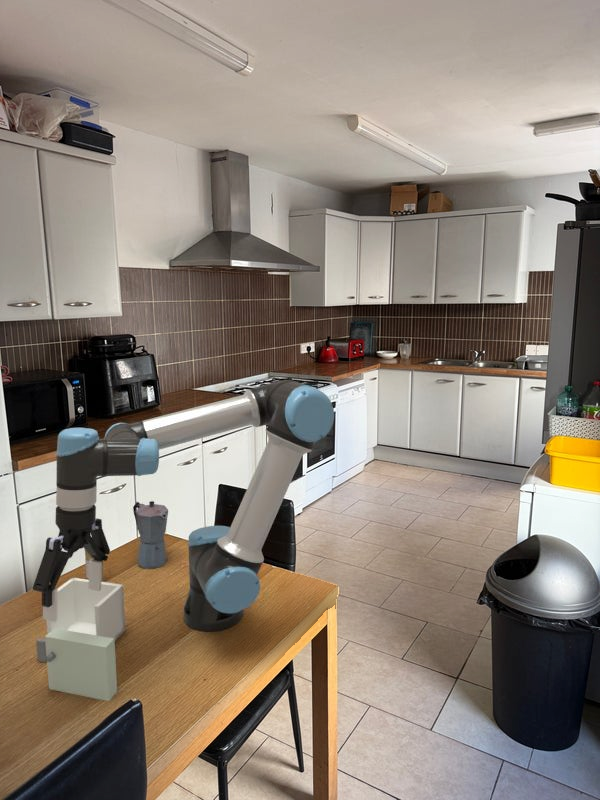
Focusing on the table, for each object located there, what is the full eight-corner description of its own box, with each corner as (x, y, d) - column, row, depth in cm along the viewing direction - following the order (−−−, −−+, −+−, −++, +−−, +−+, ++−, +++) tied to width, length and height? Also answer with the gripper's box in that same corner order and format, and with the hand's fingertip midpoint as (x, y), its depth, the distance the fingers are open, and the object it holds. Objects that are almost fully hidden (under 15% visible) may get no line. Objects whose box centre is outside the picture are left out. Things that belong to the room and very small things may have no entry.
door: (117, 691, 115) (114, 638, 113) (105, 705, 111) (102, 650, 109) (58, 679, 118) (54, 628, 116) (45, 693, 114) (40, 639, 112)
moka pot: (157, 575, 163) (154, 510, 160) (121, 562, 171) (118, 500, 168) (180, 562, 171) (178, 500, 167) (145, 550, 179) (142, 491, 176)
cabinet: (125, 630, 136) (123, 584, 134) (86, 670, 121) (83, 619, 119) (75, 622, 139) (72, 577, 137) (32, 659, 124) (27, 610, 122)
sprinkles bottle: (104, 581, 159) (102, 536, 157) (102, 589, 155) (100, 543, 153) (87, 582, 158) (84, 538, 156) (85, 590, 154) (82, 545, 152)
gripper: (99, 485, 125) (96, 574, 128) (12, 521, 101) (11, 629, 104) (128, 491, 123) (125, 581, 126) (46, 529, 99) (44, 639, 102)
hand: (73, 603), depth 115 cm, fingers open, 13 cm apart
